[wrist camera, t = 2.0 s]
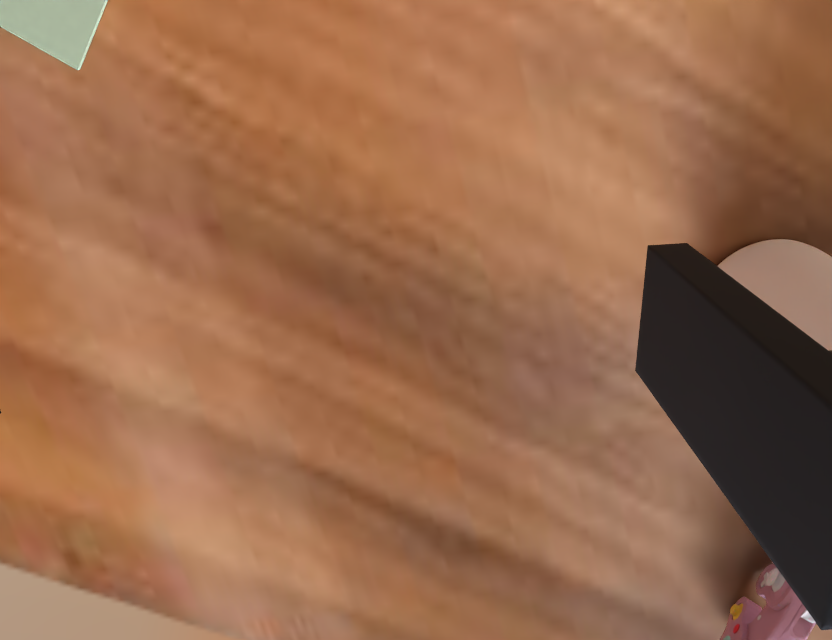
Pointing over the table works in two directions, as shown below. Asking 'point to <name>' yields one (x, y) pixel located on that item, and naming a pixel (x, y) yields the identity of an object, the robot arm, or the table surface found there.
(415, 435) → the table surface
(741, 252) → the pill bottle
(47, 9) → the mat
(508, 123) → the table surface
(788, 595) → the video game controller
